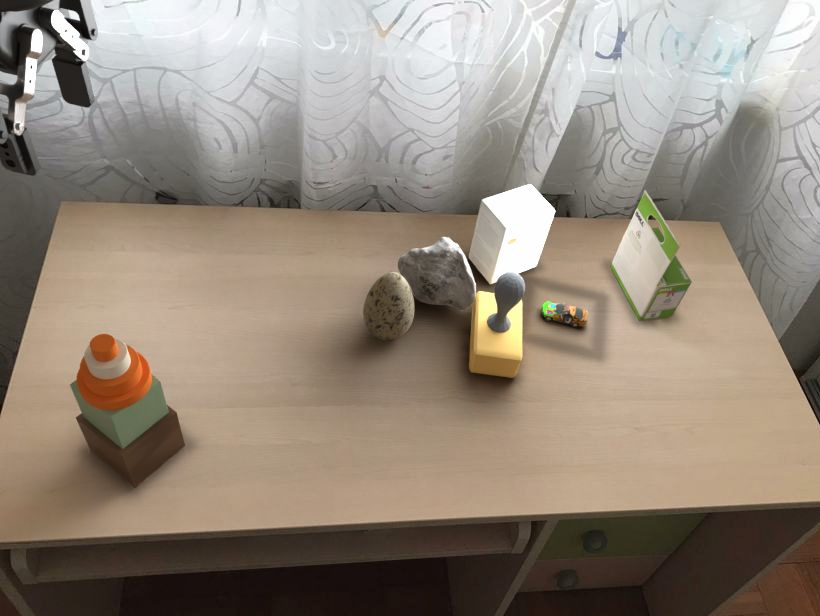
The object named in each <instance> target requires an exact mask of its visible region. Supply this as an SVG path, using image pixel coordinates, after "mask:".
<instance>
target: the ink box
mask: <svg viewBox="0 0 820 616" xmlns="http://www.w3.org/2000/svg"><path fill="white" fill-rule="evenodd" d="M633 213H634V214H633V216H632V218H631V219H630V222H629V224H628V226H627V228H626V231H625V232H624V233H623V236H622V239H621V241H620V243H619V244H618V248H617V250H616V253H615V254H614V257H613V259H612V261H611V263H610V265H609V266H610V269H611V271H612V273H613V274H614V276H615V278H616V280H617V282H618V284H619V286H620V288H621V290H622V291H623V293H624V295H625V297H626V299H627V301H628V303H629V304H630V306H631V308H632V310H633V312H634V315H635V316H636V319H637V320H638V321H649V320H656V319H657V320H659V319H665V318H668V317H673V316H674V314H675V312H676V310H677V309H678V307H679V306H680V304H681V302H682V300H683V298H684V297H685V295H686V293H687V292H688V290H689V288H690V286H691V284H692V281H693V280H692V279H691V278H690V276H689V274H688V273H687V271H686V269H685V268H684V266H683V265H682V262H681V261H680V260H679V258H678V256H677V255H676V254H677V252H678V251H679V249H680V247H681V243H680V241H679V240H678V239H677V237H676V235H675V234H674V233H673V231H672V229H671V228H670V226H669V225H668V222H667V221H666V220H665V218H664V216H663V214H662V213H661V212H660V210H659V209H658V207H657V205H656V204H655V202H654V201H653V199H652V198H651V196H650V194H649V193H648V192H647V190H646V189H644V192H643V194H642V196H641V199H640V200H639V203H638V205H637V207H636V209H635V211H634V212H633ZM650 216H652V217H653V218H654V219H655V220H656V221H657V222H658V223H659V226H660V227H651V225H650V224H649V217H650ZM660 228H661V229H660Z"/></svg>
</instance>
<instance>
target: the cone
mask: <svg viewBox="0 0 820 616" xmlns="http://www.w3.org/2000/svg"><path fill="white" fill-rule="evenodd" d="M151 374H152V371H151V367H150V364H149V362H148V360H147V359H146V358H145V356H144V355H142V354H141V353H139V352H138V351H136V350H135V349H134V348H133V347H132V346H130V345H129V344H126V343H125V342H124V341H122V340H121V339H119V338H115V337H114V336H113V335H111V334H109V333H100V334H97V335H95V336H94V337H92V338H91V340H90V341H89V345H88V346H87V347H86V349H85V351H84V355H83V357H82V359H81V361H80V363H79V369H78V371H77V373H76V380H77V386H78V389H79V391H80V393H81V395H82V397H83V399H84V400H85V401H86V402H87V403H88V404H90V405H91V406H93V407H95V408H98V409H102V410H119V409H123V408H126V407H129V406H131V405H133V404H135V403H137V402H138V401H139V400H141V399H142V398H143V397H144V396H145V395H146V393H147V392H148V390H149V388H150V386H151V382H152V375H153V374H152V375H151Z"/></svg>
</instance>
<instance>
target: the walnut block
mask: <svg viewBox="0 0 820 616" xmlns="http://www.w3.org/2000/svg"><path fill="white" fill-rule="evenodd" d="M167 407H168V411H169V413H167V414H166V415H165V416H164V417H162V418H161V419H160V420H159V421H158V422H156V423H155V424H154V425H153V426H151V427H150V428H149V429H148V430H146V431H145V432H144V433H143V434H141V435H140V436H139V437H138V438H136V439H135V440H134V441H133V442H131V443H130V444H129V445H128V446H126V447H125V448H124V449H122V448H120V447H119V446H118V445H117V444H116V443H114V442H113V441H112V440H111V439H110V438H108V437H107V436H106V435H105V434H104V433H102V432H101V431H100V430H99V429H98V428H96V427H95V426H94V425H93V424H92V423H90V422H89V421H88V420H87V419H85V418H84V417H83V414H82V412H81V413H79V414H78V415H77V416H76V417H75V419H76V422H77V424H78V426H79V428H80V431H81V433H82V435H83V438H84V439H85V441H86V444H87V447H88V448H89V450H90V453H92V454H93V455H94V456H96V458H98V459H99V460H100V461H101V462H103V464H105V465H106V466H108V467H109V468H110V470H112V471H113V472H115V473H116V474H117V475H118V476H119V477H121V478H122V479H123V480H124V481H125V482H126V483H128V484H129V485H130V486H131V487H132V488H134V489H135V488H137V487H138V486H139V485H141V483H143V482H144V481H145V480H146V479H147V478H149V476H151V475H153V473H154V472H155V471H157V470H158V469H159V468H160V467H162V466H163V465H164V464H165V463H166V462H167V461H169V460H170V459H171V458H172V457H173V456H174V455H176V454H177V453H178V452H179V451H181V449H183V448H184V447H185V446H186V443H185V440H184V436H183V430H182V428H181V423H180V420H179V415H178V412H177V411H176V410H175V409H174V408H172V407H171V406H170V405H168V404H167Z"/></svg>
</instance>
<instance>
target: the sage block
mask: <svg viewBox="0 0 820 616" xmlns="http://www.w3.org/2000/svg"><path fill="white" fill-rule="evenodd" d="M151 375H152V382H151V386H150V388H149V390H148V392H147V393H146V395H145V396H144V397H143V398H142V399H141V400H139V401H138V402H137V403H135V404H133V405H131V406H129V407H126V408H123V409H119V410H102V409H98V408H95V407H93V406H91V405H90V404H88V403H87V402H86V401H85V400H84V399H83V397H82V395H81V393H80V391H79V389H78V386H77V379H75V380H74V381H73V382H71V383H70V384H69V387H70V389H71V391H72V394H73V396H74V398H75V401H76V403H77V405H78V407H79V410H80V412H81V413H82V414H83V417H84V418H85V419H87V420H88V421H89V422H90V423H92V424H93V425H94V426H95V427H96V428H98V429H99V430H100V431H101V432H102V433H104V434H105V435H106V436H107V437H108V438H110V439H111V440H112V441H113V442H114V443H116V444H117V445H118V446H119V447H120V448H122V449H124V448H125V447H126V446H128V445H129V444H130V443H131V442H133V441H134V440H135V439H136V438H138V437H139V436H140V435H141V434H143V433H144V432H145V431H146V430H148V429H149V428H150V427H151V426H153V425H154V424H155V423H156V422H158V421H159V420H160V419H161V418H162V417H164V416H165V415H166V414H167V413H169V411H168V407H167V405H168V404H167V400H166V398H165V393H164V389H163V386H162V382H161V380H160V379H159V378H158V377H156V375H154V374H153V373H151Z"/></svg>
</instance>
